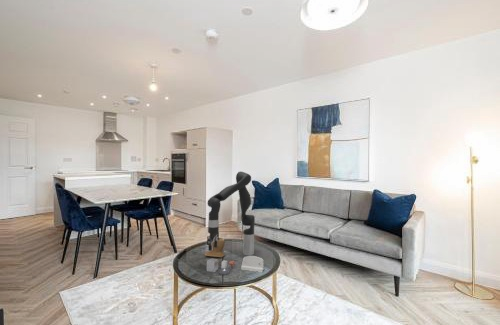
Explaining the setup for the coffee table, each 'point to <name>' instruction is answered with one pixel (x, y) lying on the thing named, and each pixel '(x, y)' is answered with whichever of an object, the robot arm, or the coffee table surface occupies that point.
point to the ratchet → (226, 267)
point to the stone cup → (217, 249)
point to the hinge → (253, 263)
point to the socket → (212, 265)
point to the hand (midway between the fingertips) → (212, 248)
